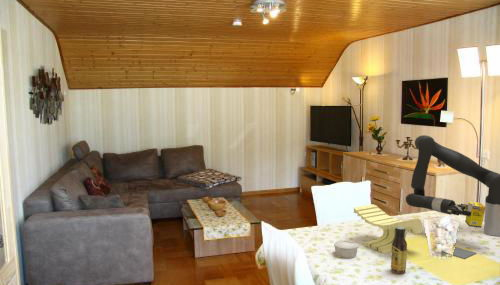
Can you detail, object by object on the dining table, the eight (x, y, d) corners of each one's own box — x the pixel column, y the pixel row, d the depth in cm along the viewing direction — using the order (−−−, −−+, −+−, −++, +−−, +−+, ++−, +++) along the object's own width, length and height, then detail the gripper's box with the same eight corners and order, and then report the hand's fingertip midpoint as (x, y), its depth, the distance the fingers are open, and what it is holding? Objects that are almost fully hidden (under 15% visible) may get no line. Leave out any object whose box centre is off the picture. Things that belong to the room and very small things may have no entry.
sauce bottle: (388, 268, 183) (389, 225, 181) (402, 268, 184) (403, 224, 182) (394, 275, 177) (395, 229, 175) (408, 274, 177) (410, 229, 175)
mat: (453, 247, 208) (453, 246, 208) (476, 253, 199) (476, 252, 199) (441, 252, 201) (441, 251, 201) (464, 259, 192) (464, 258, 192)
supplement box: (481, 228, 202) (485, 207, 200) (468, 226, 203) (472, 205, 201) (477, 223, 208) (481, 202, 205) (464, 221, 209) (468, 201, 206)
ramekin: (358, 251, 204) (358, 241, 203) (356, 260, 193) (357, 249, 193) (335, 249, 207) (335, 239, 207) (332, 257, 197) (332, 247, 196)
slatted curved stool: (420, 253, 200) (422, 217, 199) (396, 259, 193) (397, 222, 191) (376, 235, 227) (376, 203, 225) (353, 240, 220) (353, 207, 218)
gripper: (436, 201, 213) (468, 207, 200) (450, 196, 221) (482, 202, 208) (435, 215, 214) (467, 222, 201) (450, 210, 222) (481, 217, 209)
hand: (475, 212), depth 204 cm, fingers closed on supplement box, 8 cm apart
